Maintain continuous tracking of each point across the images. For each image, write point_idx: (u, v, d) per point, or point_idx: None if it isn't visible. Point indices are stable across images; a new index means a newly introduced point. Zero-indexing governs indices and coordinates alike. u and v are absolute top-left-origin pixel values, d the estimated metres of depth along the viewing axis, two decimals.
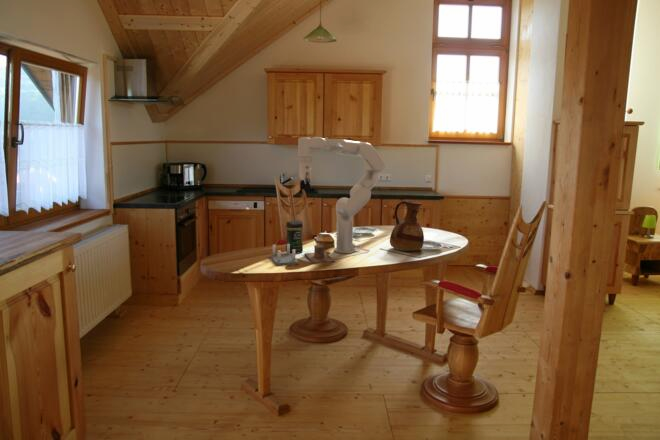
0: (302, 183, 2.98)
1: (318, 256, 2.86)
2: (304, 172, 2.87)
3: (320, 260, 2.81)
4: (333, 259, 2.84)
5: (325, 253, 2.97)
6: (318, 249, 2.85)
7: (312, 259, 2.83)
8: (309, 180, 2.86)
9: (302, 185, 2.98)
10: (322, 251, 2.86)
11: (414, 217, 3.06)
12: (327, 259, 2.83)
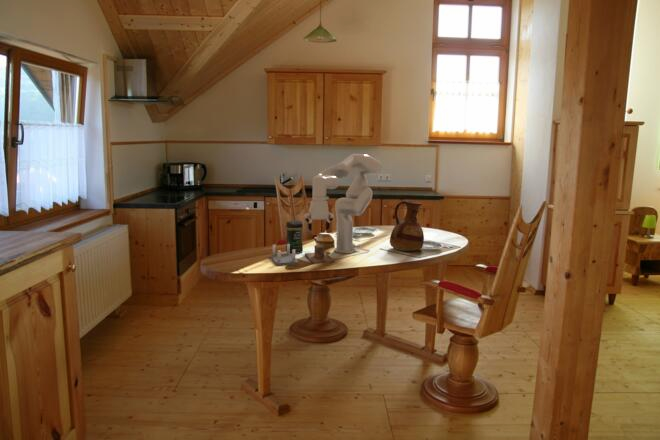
0: None
1: (318, 256, 2.86)
2: None
3: (320, 260, 2.81)
4: (333, 259, 2.83)
5: (325, 253, 2.97)
6: (318, 249, 2.85)
7: (312, 259, 2.83)
8: None
9: None
10: (322, 251, 2.86)
11: (414, 217, 3.06)
12: (327, 259, 2.83)
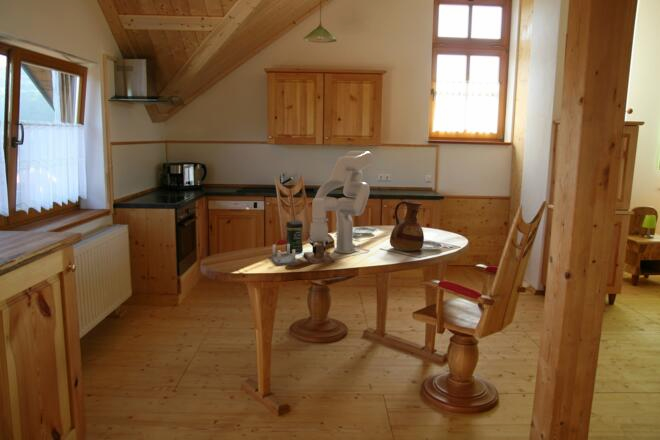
0: None
1: (318, 255, 2.86)
2: None
3: (319, 259, 2.81)
4: (332, 258, 2.83)
5: (324, 252, 2.97)
6: (317, 248, 2.85)
7: (311, 258, 2.83)
8: None
9: None
10: (322, 250, 2.86)
11: (414, 217, 3.06)
12: (326, 258, 2.83)
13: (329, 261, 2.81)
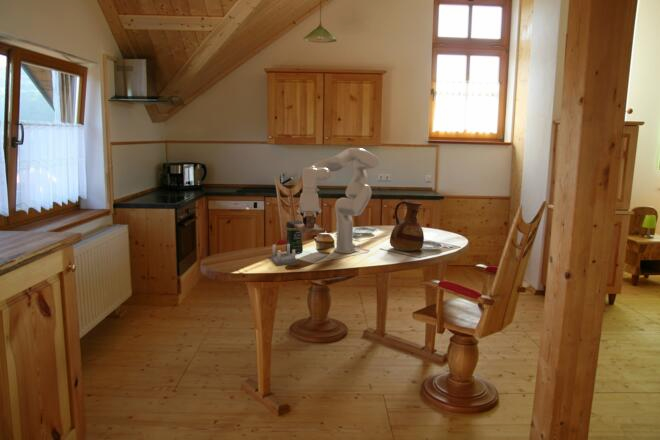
0: None
1: (308, 226, 2.81)
2: (318, 203, 2.83)
3: (310, 229, 2.76)
4: None
5: (315, 224, 2.92)
6: (308, 218, 2.80)
7: (302, 228, 2.78)
8: None
9: None
10: (312, 220, 2.81)
11: (414, 217, 3.06)
12: (317, 228, 2.79)
13: (320, 231, 2.76)
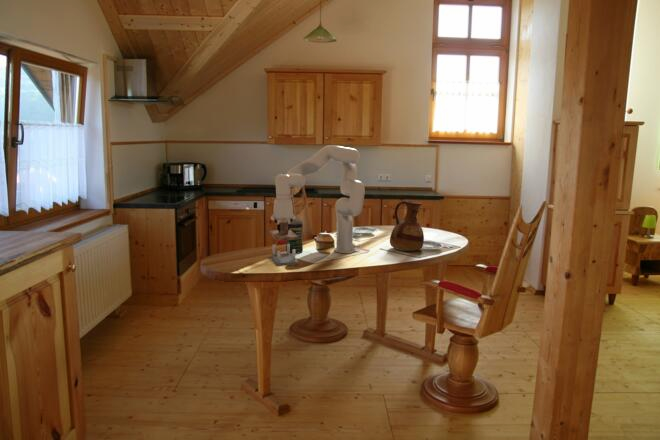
0: None
1: (282, 233, 2.78)
2: (292, 210, 2.79)
3: (283, 236, 2.73)
4: None
5: (290, 230, 2.89)
6: (282, 225, 2.77)
7: (275, 235, 2.75)
8: None
9: None
10: (286, 227, 2.78)
11: (414, 217, 3.06)
12: (291, 235, 2.75)
13: (293, 238, 2.73)
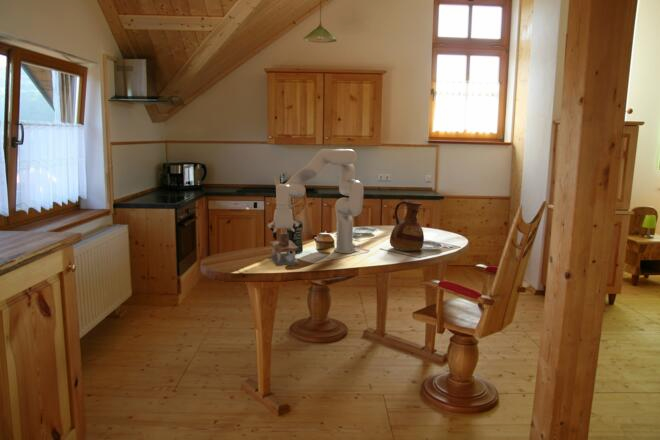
0: None
1: (283, 244, 2.79)
2: (292, 219, 2.80)
3: (284, 247, 2.74)
4: (297, 247, 2.77)
5: (291, 241, 2.90)
6: (282, 236, 2.78)
7: (276, 247, 2.76)
8: (296, 226, 2.83)
9: None
10: (287, 238, 2.79)
11: (414, 217, 3.06)
12: (291, 247, 2.77)
13: (293, 249, 2.74)
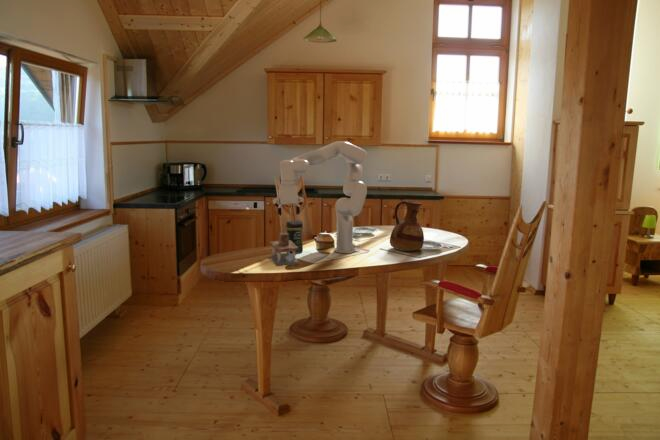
0: None
1: (283, 244, 2.79)
2: (297, 195, 2.82)
3: (284, 247, 2.74)
4: (297, 247, 2.77)
5: (291, 241, 2.90)
6: (282, 236, 2.78)
7: (276, 247, 2.76)
8: None
9: None
10: (287, 238, 2.79)
11: (414, 217, 3.06)
12: (291, 247, 2.77)
13: (293, 249, 2.74)
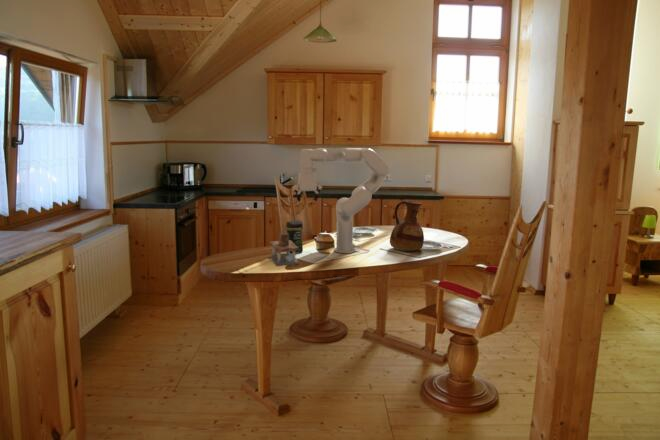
0: None
1: (283, 244, 2.79)
2: None
3: (284, 247, 2.74)
4: (297, 247, 2.77)
5: (291, 241, 2.90)
6: (282, 236, 2.78)
7: (276, 247, 2.76)
8: None
9: None
10: (287, 238, 2.79)
11: (414, 217, 3.06)
12: (291, 247, 2.77)
13: (293, 249, 2.74)
